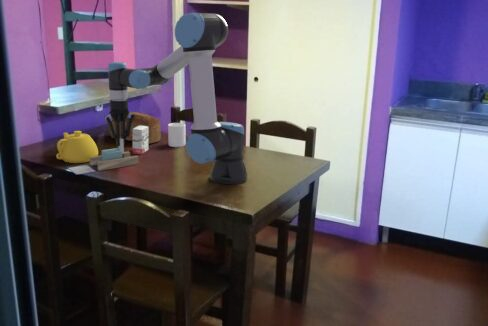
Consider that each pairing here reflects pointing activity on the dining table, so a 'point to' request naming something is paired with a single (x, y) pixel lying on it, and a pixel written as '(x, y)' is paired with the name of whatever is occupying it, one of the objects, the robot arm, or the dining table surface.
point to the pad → (81, 169)
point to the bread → (143, 120)
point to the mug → (176, 134)
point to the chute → (114, 161)
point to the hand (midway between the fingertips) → (121, 152)
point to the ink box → (140, 139)
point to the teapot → (76, 148)
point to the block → (111, 154)
